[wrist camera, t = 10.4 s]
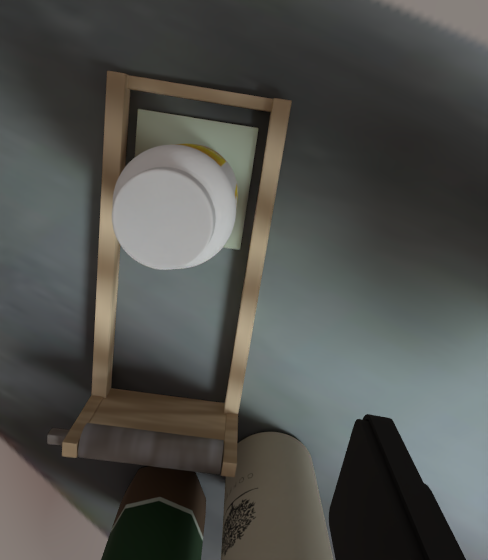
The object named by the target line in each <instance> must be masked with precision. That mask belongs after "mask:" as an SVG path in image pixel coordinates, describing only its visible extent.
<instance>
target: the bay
mask: <svg viewBox="0 0 488 560" xmlns="http://www.w3.org/2000/svg"><path fill="white" fill-rule="evenodd" d="M130 90H137V91H143V92H149V93H155V94H161V95H167V96H174V97H180V98H186V99H192V100H198V101H204V102H210V103H217V104H223V105H229V106H235V107H241V108H247V109H254V110H260V111H266V112H271V114H270V121H269V127H268V133H267V139H266V146H265V152H264V158H263V165H262V171H261V177H260V184H259V190H258V196H257V203H256V209H255V215H254V221H253V228H252V234H251V240H250V247H249V253H248V259H247V266H246V272H245V278H244V285H243V291H242V297H241V303H240V310H239V316H238V322H237V329H236V335H235V341H234V348H233V354H232V360H231V367H230V373H229V379H228V385H227V392H226V398H225V403H220V402H213V401H205V400H197V399H190V398H182V397H174V396H167V395H159V394H151V393H144V392H136V391H129V390H121V389H113V388H111V383H112V367H113V352H114V336H115V321H116V305H117V289H118V274H119V258H120V244H119V242H118V240H117V238H116V236H115V233H114V230H113V225H112V208H113V193H114V189H115V185H116V182H117V180H118V178H119V176H120V174H121V172H122V171H123V169H124V168H125V165H126V149H127V134H128V118H129V102H130ZM291 102H292V101H290V100H284V99H278V98H274V99H270V98H264V97H258V96H252V95H246V94H239V93H233V92H227V91H221V90H215V89H209V88H203V87H197V86H191V85H185V84H178V83H172V82H166V81H160V80H154V79H148V78H142V77H136V76H130V75H127V74H125V73H119V72H113V71H107V84H106V105H105V125H104V146H103V167H102V187H101V208H100V229H99V249H98V270H97V291H96V312H95V332H94V353H93V374H92V394H91V397H90V398H89V400H88V402H87V403H86V405H85V406H84V408H83V410H82V411H81V413H80V415H79V416H78V418H77V419H76V421H75V423H74V424H73V426H72V428H71V429H70V430H68V429H60V428H52V429H51V430H50V432H49V433H48V435H47V444H53V445H61V446H62V456H65V457H73V458H76V457H77V456H79V457H80V458H88V459H96V460H104V461H112V462H121V463H129V464H137V465H145V466H153V467H161V468H169V469H177V470H186V471H194V472H202V473H210V474H218V475H219V474H220V469H221V476H228V477H235V472H236V466H237V438H238V412H239V406H240V400H241V394H242V388H243V382H244V377H245V371H246V365H247V359H248V353H249V347H250V341H251V336H252V330H253V324H254V318H255V312H256V306H257V301H258V295H259V289H260V283H261V277H262V271H263V266H264V260H265V254H266V248H267V242H268V236H269V230H270V225H271V219H272V213H273V207H274V201H275V195H276V190H277V184H278V178H279V172H280V166H281V160H282V154H283V149H284V143H285V137H286V131H287V125H288V119H289V114H290V108H291ZM258 129H259V128H254V127H248V126H241V125H235V124H229V123H223V122H216V121H210V120H204V119H198V118H192V117H185V116H179V115H173V114H167V113H160V112H154V111H148V110H142V109H138V116H137V130H136V145H135V157H136V156H138V155H139V154H141V153H142V152H144V151H146V150H148V149H151V148H153V147H157V146H161V145H170V144H199V145H203V146H206V147H209V148H211V149H213V150H214V151H216V152H217V153H219V154H220V155H221V156H222V157H223V158H224V159H225V160H226V161H227V162H228V163H229V165H230V166H231V168H232V170H233V172H234V174H235V177H236V181H237V187H238V199H237V208H236V218H235V223H234V227H233V230H232V233H231V235H230V237H229V239H228V240H227V242H226V244H225V245H224V246H223V247H224V248H231V249H237V250H240V247H241V240H242V234H243V227H244V221H245V214H246V208H247V201H248V194H249V188H250V181H251V175H252V168H253V161H254V155H255V148H256V142H257V135H258ZM221 463H222V466H221Z"/></svg>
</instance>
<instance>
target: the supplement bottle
mask: <svg viewBox="0 0 488 560" xmlns="http://www.w3.org/2000/svg"><path fill="white" fill-rule="evenodd" d="M237 199H238V187H237V181H236V177H235V174H234V172H233V170H232V168H231V166H230V165H229V163H228V162H227V161H226V160H225V159H224V158H223V157H222V156H221V155H220V154H219V153H217V152H216V151H214V150H213V149H211V148H209V147H206V146H203V145H199V144H170V145H161V146H157V147H153V148H151V149H148V150H146V151H144V152H142V153H141V154H139V155H138V156H136V157H135V158H134V159H132V160H131V161H130V162H129V163H128V164H127V166H126V167H125V168H124V169H123V171H122V172H121V174H120V176H119V178H118V180H117V182H116V185H115V189H114V193H113V208H112V225H113V230H114V233H115V236H116V238H117V240H118V242H119V244H120V245H121V246H122V248H123V249H124V250H125V251H126V253H127V254H128V255H129V256H131V257H132V258H133V259H134V260H136V261H137V262H139V263H141V264H143V265H145V266H148V267H151V268H155V269H162V270H170V269H182V268H189V267H193V266H196V265H199V264H201V263H203V262H205V261H207V260H209V259H210V258H212V257H213V256H214V255H216V254H217V253H218V252H219V251H220V250H221V249H222V248H223V246H224V245H225V244H226V242H227V240H228V239H229V237H230V235H231V233H232V230H233V227H234V223H235V218H236V208H237Z"/></svg>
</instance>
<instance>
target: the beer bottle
mask: <svg viewBox="0 0 488 560" xmlns="http://www.w3.org/2000/svg"><path fill="white" fill-rule="evenodd" d="M205 513H206V498H205V495H204V493H203V490H202V488H201V485H200V482H199V480H198V477H197V475H196V473H195V472H192V471H186V470H177V469H169V468H161V467H153V466H147V467H143V468H140V469H139V470H138V472H137V473H136V475H135V477H134V478H133V480H132V482H131V484H130V485H129V487H128V489H127V490H126V492H125V495H124V497H123V500H122V502H121V504H120V507H119V509H118V512H117V515H116V518H115V521H114V524H113V527H112V530H111V533H110V536H109V538H108V541H107V544H106V547H105V550H104V553H103V556H102V559H101V560H201V552H202V543H203V533H204V524H205Z"/></svg>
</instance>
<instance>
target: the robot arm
mask: <svg viewBox="0 0 488 560" xmlns="http://www.w3.org/2000/svg"><path fill="white" fill-rule="evenodd" d="M329 526H330V532H331V537H332V542H333V548H334V553H335V558H336V560H466V559H465V557H464V555H463V553H462V551H461V549H460V547H459V545H458V543H457V541H456V539H455V537H454V535H453V533H452V531H451V529H450V527H449V525H448V523H447V521H446V519H445V517H444V515H443V513H442V511H441V509H440V507H439V505H438V503H437V501H436V499H435V497H434V495H433V493H432V491H431V490H430V488H429V487H428V486H427V485H426V484H424V483H423V481H422V479H421V477H420V475H419V473H418V471H417V469H416V467H415V465H414V463H413V461H412V459H411V457H410V455H409V453H408V450H407V448H406V446H405V444H404V442H403V440H402V438H401V436H400V434H399V432H398V430H397V428H396V426H395V424H394V422H393V421H392V419H390V418H386V417H380V416H374V415H369V414H367V415H365V416H364V418H363V420H361V419H357V420H356V421H355V424H354V427H353V430H352V434H351V437H350V441H349V444H348V448H347V451H346V454H345V458H344V461H343V465H342V468H341V472H340V475H339V478H338V482H337V485H336V489H335V492H334V495H333V499H332V502H331V506H330V510H329Z"/></svg>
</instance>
